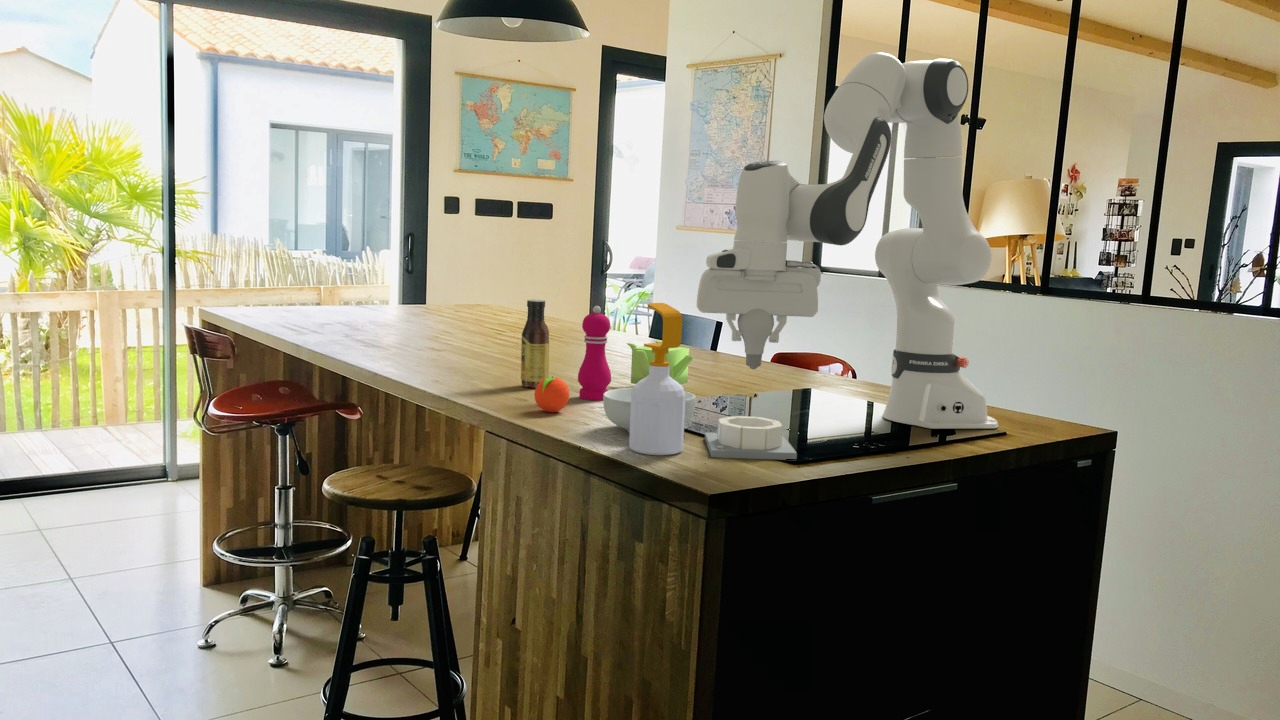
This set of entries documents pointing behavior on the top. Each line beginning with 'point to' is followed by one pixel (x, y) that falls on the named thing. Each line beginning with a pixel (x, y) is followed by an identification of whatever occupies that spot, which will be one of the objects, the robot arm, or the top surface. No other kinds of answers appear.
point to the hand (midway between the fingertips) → (754, 341)
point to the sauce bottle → (534, 346)
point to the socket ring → (749, 432)
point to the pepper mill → (595, 357)
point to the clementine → (551, 394)
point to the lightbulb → (755, 334)
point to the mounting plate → (748, 450)
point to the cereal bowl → (620, 406)
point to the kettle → (675, 357)
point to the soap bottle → (659, 396)
